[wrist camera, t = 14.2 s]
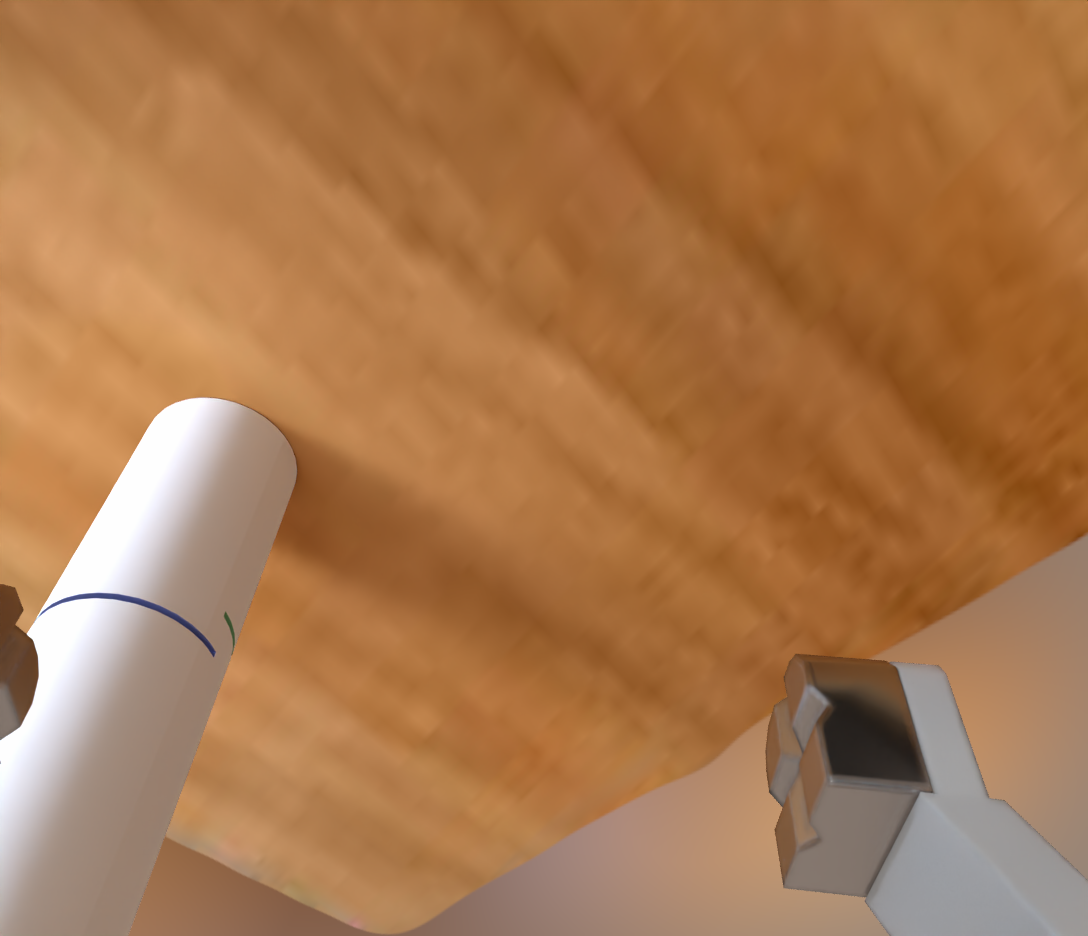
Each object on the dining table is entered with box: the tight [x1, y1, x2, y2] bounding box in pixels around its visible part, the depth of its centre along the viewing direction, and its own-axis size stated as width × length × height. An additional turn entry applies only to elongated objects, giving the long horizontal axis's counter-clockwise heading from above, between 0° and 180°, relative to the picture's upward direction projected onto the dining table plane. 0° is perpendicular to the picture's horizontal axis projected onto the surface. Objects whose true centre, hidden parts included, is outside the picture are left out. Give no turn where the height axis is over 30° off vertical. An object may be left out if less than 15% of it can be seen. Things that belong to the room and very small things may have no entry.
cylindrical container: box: [0, 398, 297, 936], centre depth 40 cm, size 7×7×25 cm
